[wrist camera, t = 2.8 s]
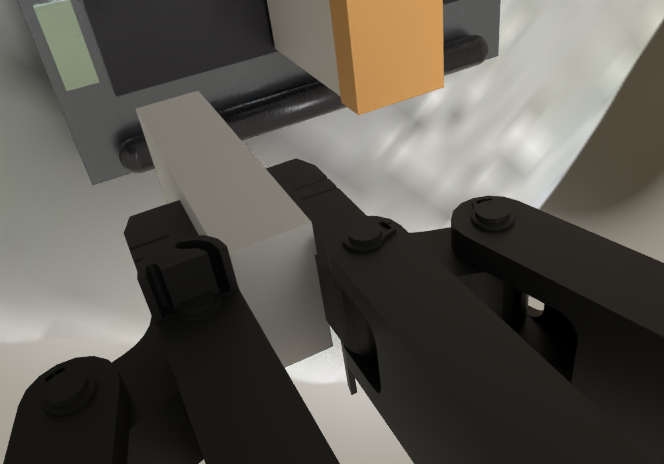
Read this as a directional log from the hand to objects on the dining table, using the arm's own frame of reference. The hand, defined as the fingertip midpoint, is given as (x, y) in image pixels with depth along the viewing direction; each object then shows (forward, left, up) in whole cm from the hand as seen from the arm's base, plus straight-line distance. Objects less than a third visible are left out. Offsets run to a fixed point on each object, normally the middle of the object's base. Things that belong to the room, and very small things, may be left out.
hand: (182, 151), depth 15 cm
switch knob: (0, +8, -10) cm, 12 cm away
